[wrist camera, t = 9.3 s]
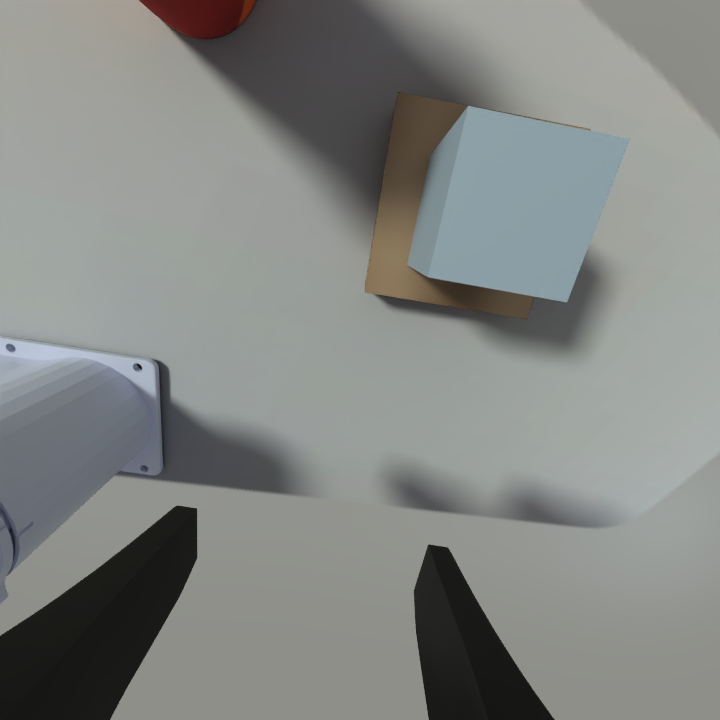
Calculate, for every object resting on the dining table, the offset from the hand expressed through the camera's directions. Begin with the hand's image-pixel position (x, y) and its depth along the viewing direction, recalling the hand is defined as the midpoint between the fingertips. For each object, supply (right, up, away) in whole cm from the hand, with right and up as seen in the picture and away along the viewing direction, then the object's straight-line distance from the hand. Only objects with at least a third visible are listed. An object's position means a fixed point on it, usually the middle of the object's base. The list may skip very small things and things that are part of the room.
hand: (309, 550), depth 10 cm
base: (+6, +13, +6) cm, 16 cm away
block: (+6, +12, +4) cm, 14 cm away
